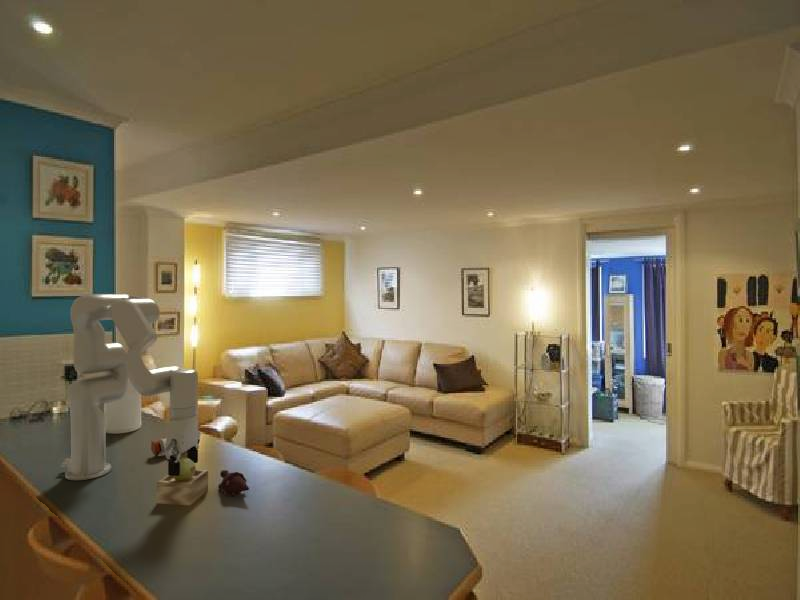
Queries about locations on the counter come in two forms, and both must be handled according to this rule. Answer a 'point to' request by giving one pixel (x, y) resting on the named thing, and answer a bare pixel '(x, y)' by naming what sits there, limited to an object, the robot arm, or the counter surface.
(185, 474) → the tennis ball
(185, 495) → the wooden box
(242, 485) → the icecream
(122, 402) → the bottle
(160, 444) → the potion bottle
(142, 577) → the counter surface
